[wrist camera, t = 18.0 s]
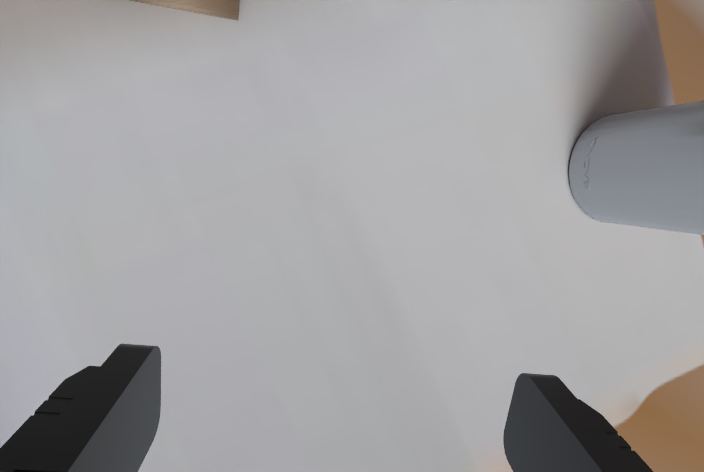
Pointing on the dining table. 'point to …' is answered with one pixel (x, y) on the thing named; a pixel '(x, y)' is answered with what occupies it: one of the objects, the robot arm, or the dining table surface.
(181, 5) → the tray
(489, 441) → the dining table surface
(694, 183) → the robot arm
